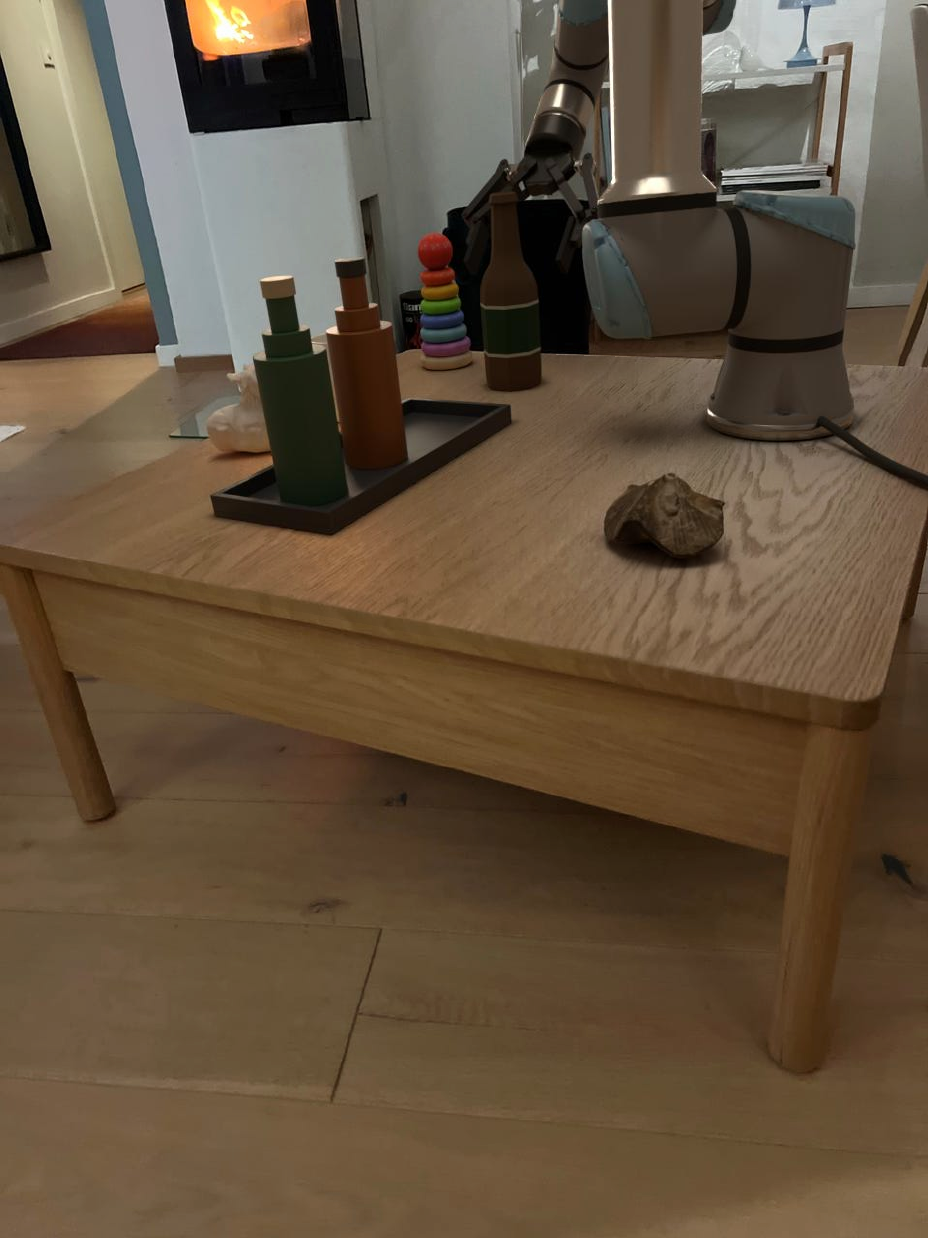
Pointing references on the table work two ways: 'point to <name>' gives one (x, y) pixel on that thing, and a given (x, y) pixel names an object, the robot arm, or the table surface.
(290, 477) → the bottle far
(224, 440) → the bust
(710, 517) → the fossilized seashell
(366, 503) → the tray
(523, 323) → the beer bottle
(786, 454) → the table surface
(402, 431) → the bottle mid
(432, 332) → the stacking toy
